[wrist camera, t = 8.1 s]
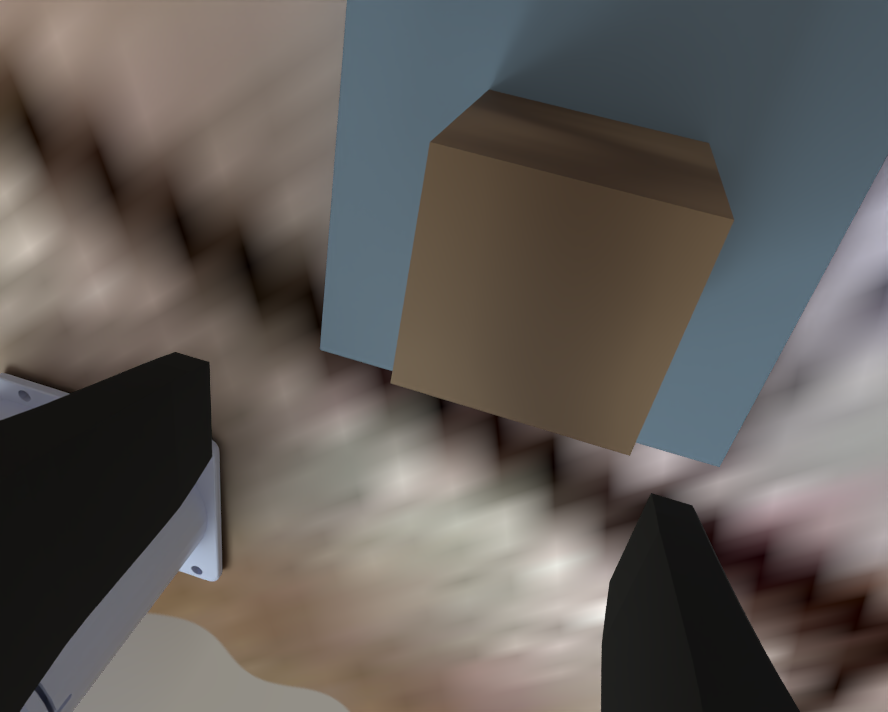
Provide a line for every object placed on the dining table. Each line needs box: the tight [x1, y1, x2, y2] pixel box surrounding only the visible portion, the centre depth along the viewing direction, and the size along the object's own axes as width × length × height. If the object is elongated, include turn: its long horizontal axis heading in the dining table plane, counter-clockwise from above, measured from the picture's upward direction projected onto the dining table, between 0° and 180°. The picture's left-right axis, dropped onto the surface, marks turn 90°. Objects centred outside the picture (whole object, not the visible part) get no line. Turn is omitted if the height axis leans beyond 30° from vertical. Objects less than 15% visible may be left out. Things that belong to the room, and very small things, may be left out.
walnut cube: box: [391, 90, 734, 456], centre depth 14 cm, size 5×5×5 cm
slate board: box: [320, 0, 888, 467], centre depth 17 cm, size 12×12×1 cm
